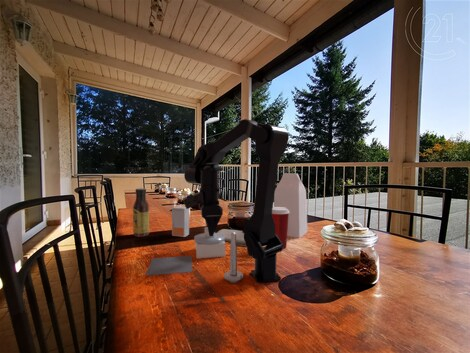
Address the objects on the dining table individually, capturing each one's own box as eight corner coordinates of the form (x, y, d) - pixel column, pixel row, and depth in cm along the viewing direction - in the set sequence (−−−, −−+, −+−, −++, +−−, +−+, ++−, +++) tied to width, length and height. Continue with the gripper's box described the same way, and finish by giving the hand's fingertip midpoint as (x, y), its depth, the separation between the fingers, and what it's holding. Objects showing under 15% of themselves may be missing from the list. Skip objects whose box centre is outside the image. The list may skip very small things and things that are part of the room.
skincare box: (171, 236, 103) (171, 207, 102) (176, 233, 107) (176, 206, 107) (184, 237, 101) (184, 208, 101) (189, 234, 105) (189, 206, 105)
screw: (243, 288, 59) (223, 288, 59) (243, 278, 64) (224, 278, 64) (243, 234, 59) (223, 234, 59) (243, 229, 64) (224, 229, 64)
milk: (307, 231, 110) (308, 173, 109) (299, 238, 100) (300, 174, 99) (282, 228, 116) (282, 172, 115) (272, 233, 107) (272, 173, 105)
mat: (192, 274, 67) (192, 271, 67) (145, 278, 64) (145, 275, 64) (191, 258, 78) (191, 255, 78) (152, 261, 76) (152, 258, 76)
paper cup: (288, 243, 93) (288, 206, 92) (290, 250, 85) (290, 210, 84) (267, 243, 93) (267, 206, 93) (267, 250, 86) (267, 210, 85)
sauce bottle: (133, 234, 106) (132, 188, 105) (148, 232, 108) (147, 187, 107) (133, 238, 100) (132, 189, 99) (150, 236, 102) (149, 188, 101)
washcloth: (250, 248, 89) (250, 240, 89) (206, 242, 96) (206, 234, 96) (260, 239, 100) (260, 231, 100) (220, 234, 107) (220, 227, 107)
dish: (225, 258, 78) (225, 243, 78) (196, 260, 76) (196, 244, 76) (221, 249, 87) (221, 235, 87) (195, 250, 85) (195, 236, 85)
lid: (227, 243, 77) (227, 230, 77) (194, 245, 75) (194, 232, 75) (222, 234, 87) (222, 223, 87) (193, 236, 85) (193, 224, 85)
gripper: (184, 183, 88) (185, 226, 89) (183, 187, 70) (184, 242, 70) (215, 182, 90) (215, 225, 91) (222, 187, 72) (223, 240, 73)
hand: (209, 232), depth 81 cm, fingers open, 9 cm apart
